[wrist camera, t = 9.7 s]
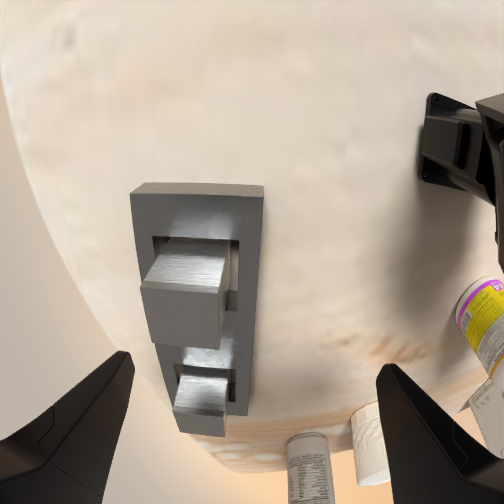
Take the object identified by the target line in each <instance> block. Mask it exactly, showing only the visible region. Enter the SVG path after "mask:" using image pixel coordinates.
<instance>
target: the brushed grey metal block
mask: <svg viewBox="0 0 504 504" xmlns="http://www.w3.org/2000/svg"><path fill="white" fill-rule="evenodd" d="M230 380H231V371H230V369H223V368H211V367H201V366H192V365H184V367H183V371H182V375H181V379H180V383H179V387H178V391H177V395H176V399H175V403H174V407H173V414H174V417H175V419H176V422H177V425H178V427H179V430H180V432H184V433H191V434H198V435H207V436H217V437H225V430H226V420H227V410H228V400H229V390H230Z"/></svg>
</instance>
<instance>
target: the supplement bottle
mask: <svg viewBox="0 0 504 504" xmlns="http://www.w3.org/2000/svg"><path fill="white" fill-rule="evenodd" d="M455 317H456V323H457V325H458V327H459V328H460V330H461V331H462V333H463V334H464V336H465V337H466V339H467V340H468V342H469V344H470V345H471V347H472V348H473V350H474V352H475V353H476V355H477V356H478V358H479V360H480V361H481V363H482V365H483V366H484V368H485V370H486V372H487V373H488V375H489V377H490V379H491V381H492V382H493V384H494V386H495V387H496V388H497V389H498V390H500V391H504V284H503V283H502V282H501V281H500V280H499V279H497V278H495V277H492V276H487V277H484V278H481V279H479V280H478V281H476V282H475V283H474V284H473V285H471V286H470V287H469V289H468V290H467V291H466V292H465V294H464V295H463V297H462V298H461V300H460V302H459V304H458V306H457V310H456V316H455Z"/></svg>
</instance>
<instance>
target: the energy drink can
mask: <svg viewBox="0 0 504 504" xmlns="http://www.w3.org/2000/svg"><path fill="white" fill-rule="evenodd" d="M287 471H288V503H289V504H335V495H334V486H333V477H332V469H331V461H330V453H329V445H328V440H327V439H325V438H324V436H323V435H322V434H319V433H304V434H300V435H297V436H294V437H293V438H292V439H291V440H290V443H289V444H288V445H287Z"/></svg>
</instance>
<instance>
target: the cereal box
mask: <svg viewBox="0 0 504 504" xmlns="http://www.w3.org/2000/svg"><path fill="white" fill-rule="evenodd" d="M468 403H469V405H470V407H471V409H472V411H473V414H474V416H475V418H476V421H477V423H478V425H479V428H480V430H481V433H482V435H483V437H484V440H485V443H486V445H487V448H488V450H489V451H490V452H491V453H493V454H494V455H495V456H497V457H499V458H502V459H504V391H500V390H498V389H497V388H496V387H495V386H494V384H493V382H492V381H491V379H490V378H489V379H488V380H487V381H486V382H485V383H484V384H483V385H482V386H481V388H480V389H479V390H478V391H477V392H476V393H475V394H474V395H473V396H472V397H471V398H470V399H469V400H468Z"/></svg>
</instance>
